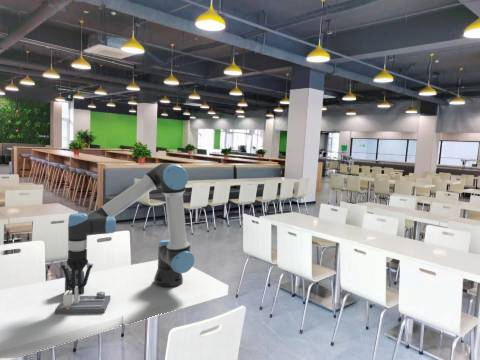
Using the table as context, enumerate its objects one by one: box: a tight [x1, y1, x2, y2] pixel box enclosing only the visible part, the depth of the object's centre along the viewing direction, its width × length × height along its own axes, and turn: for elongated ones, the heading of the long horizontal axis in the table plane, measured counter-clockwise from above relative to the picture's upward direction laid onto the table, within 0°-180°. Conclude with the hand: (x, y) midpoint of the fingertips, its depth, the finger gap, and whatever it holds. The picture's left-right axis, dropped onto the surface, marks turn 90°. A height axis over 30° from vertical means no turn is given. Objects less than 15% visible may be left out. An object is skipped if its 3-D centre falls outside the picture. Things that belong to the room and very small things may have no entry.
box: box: [64, 270, 85, 295], centre depth 181 cm, size 8×6×11 cm
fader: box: [62, 290, 74, 306], centre depth 164 cm, size 3×5×5 cm, turn 9°
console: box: [54, 291, 112, 315], centre depth 167 cm, size 20×14×4 cm
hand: (77, 301), depth 164 cm, fingers closed
